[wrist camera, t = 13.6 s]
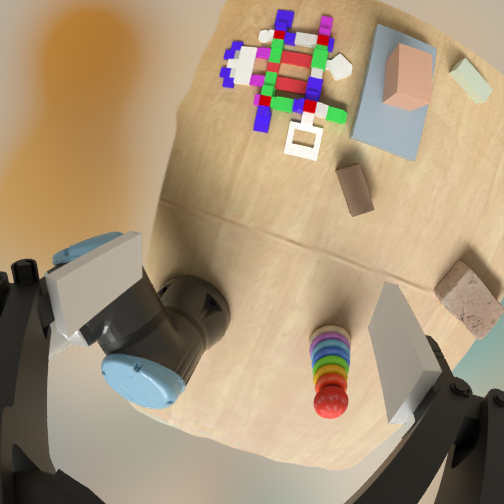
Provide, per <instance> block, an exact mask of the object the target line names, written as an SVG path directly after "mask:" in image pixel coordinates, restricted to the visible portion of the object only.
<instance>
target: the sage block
mask: <svg viewBox="0 0 504 504" xmlns="http://www.w3.org/2000/svg"><path fill="white" fill-rule="evenodd" d="M449 74H450V75H451V76H452V77H453V78H454V79H455V81H456V82H457V83H458V84H459V85H460V86H461V87H462V88H463V89H464V91H465V92H466V93H467V94H468V95H469V96H470V98H471V99H472V100H473V101H474V102H475V104H477V103H482V102H485V101H486V100H487V98H488V97H489V95H490V94H491V92H492V91H493V90H492V88H491V87H490V86H489V85H488V83H487V82H486V81H485V80H484V78H483V77H482V76H481V75H480V74H479V73H478V71H477V70H476V69H475V68H474V67H473V66H472V65H471V64H470V62H469V61H468V60H467V59H466V58H464V59H463V60H461V61H459V62H457V63H456V65H455V66H454V67H453V69H452V70H451V71H450V72H449Z"/></svg>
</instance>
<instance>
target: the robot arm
mask: <svg viewBox="0 0 504 504" xmlns="http://www.w3.org/2000/svg"><path fill="white" fill-rule="evenodd" d="M52 259H53V265H55V267H54V268H52V269H50V270H48V271H47V272H45V274H44V277H43V278H41V279H40V280H39V274H38V269H37V263H36V261H35V260H33V259H22V260H19V261H16V262H15V263H13V264H12V265H11V270H12V274H13V279H14V283H9V281H8V276H7V273H6V272H0V504H105V503H104V502H103V501H102V500H101V499H100V498H99V497H98V496H96V495H95V494H94V493H93V492H92V491H91V490H90V489H89V488H87V487H85V486H84V485H82V484H80V483H79V482H77V481H76V480H74V479H73V478H71V477H70V476H68V475H67V474H65V473H64V472H63V471H61V470H60V469H58V471H57V472H56V471H55V468H54V466H53V464H52V462H51V459H50V455H49V446H48V430H47V376H48V361H49V359H51V358H52V357H54V356H55V355H57V354H58V353H60V352H61V351H63V350H64V349H65V348H67V347H68V346H70V345H79V346H83V347H89V346H90V345H92V344H93V343H95V342H96V341H97V342H98V344H99V345H100V347H101V348H102V350H103V351H104V353H105V354H106V357H105V358H104V359H103V362H102V365H101V369H102V374H103V376H104V378H105V380H106V381H107V383H108V384H109V385H110V386H111V387H112V388H113V389H114V390H115V391H116V392H117V393H118V394H120V395H121V396H123V397H124V398H125V399H127V400H129V401H131V402H133V403H135V404H137V405H140V406H143V407H146V408H151V409H163V408H167V407H169V406H171V405H172V404H174V403H175V401H176V400H177V398H178V397H179V395H180V394H181V393H182V392H183V391H184V390H185V388H186V385H187V383H188V381H189V379H190V377H191V376H192V374H193V372H194V370H195V368H196V366H197V364H198V362H199V360H200V359H201V357H202V355H203V353H204V352H205V351H206V350H207V349H209V348H210V347H212V346H213V345H214V344H216V343H217V342H219V341H220V340H221V339H222V337H223V336H224V334H225V332H226V330H227V328H228V326H229V322H230V312H229V308H228V305H227V303H226V301H225V299H224V297H223V296H222V295H221V293H220V292H219V291H218V290H217V289H216V288H215V287H214V286H212V285H211V284H210V283H208V282H206V281H205V280H203V279H200V278H197V277H193V276H178V277H175V278H172V279H170V280H169V281H168V282H166V283H165V284H164V285H163V286H162V287H161V288H160V290H159V291H158V293H157V292H156V291H155V289H154V287H153V285H152V283H151V281H150V279H149V278H148V276H147V274H146V272H145V270H144V268H143V266H142V233H139V232H134V231H130V232H128V233H125V234H123V233H121V232H109V233H106V234H102V235H99V236H95V237H92V238H90V239H87V240H85V241H81V242H79V243H77V244H74V245H72V246H70V247H69V248H66V249H64V250H61V251H59V252H57V253H56V254H55V255H54V256H53V258H52ZM368 329H369V332H370V336H371V340H372V345H373V349H374V353H375V357H376V362H377V366H378V371H379V375H380V380H381V385H382V390H383V395H384V400H385V406H386V412H387V417H388V423H391V424H406V423H407V421H408V420H409V419H410V418H411V416H412V415H413V414H414V418H415V423H414V424H413V426H412V427H411V428H410V429H409V430H408V431H407V433H406V434H405V435H404V436H403V437H402V440H401V441H400V443H399V444H398V445H397V447H396V448H395V449H394V450H393V452H392V453H391V454H390V455H389V457H388V458H387V459H386V460H385V461H384V462H383V464H382V465H381V466H380V467H379V468H378V469H377V471H376V472H375V473H374V474H373V475H372V476H371V477H370V478H369V479H368V480H367V481H366V482H365V483H364V485H363V486H362V487H361V488H360V489H359V490H358V491H357V492H356V493H355V494H354V495H353V496H352V497H351V498H350V499H349V500H348V501H346V502H345V504H417V503H418V502H419V500H420V499H421V498H422V496H423V495H424V493H425V492H426V490H427V488H428V487H429V485H430V484H431V482H432V480H433V479H434V477H435V475H436V474H437V472H438V470H439V468H440V466H441V465H442V463H443V461H444V459H445V457H446V455H447V453H448V456H447V460H446V464H445V469H444V472H443V476H442V480H441V483H440V487H439V490H438V493H437V497H436V499H435V502H434V504H504V392H503V391H501V390H499V389H491V390H490V391H489V392H488V394H487V395H486V396H485V398H483V397H480V396H476V395H473V394H472V390H471V387H470V386H469V385H468V383H466V382H465V381H464V380H462V379H460V378H458V377H454V376H453V374H452V372H451V370H450V368H449V366H448V364H447V361H446V359H444V355H443V353H442V352H441V350H440V348H439V346H438V344H437V342H436V341H435V340H434V339H433V338H432V337H431V336H427V335H425V334H424V332H423V330H422V328H421V326H420V324H419V323H418V321H417V319H416V317H415V315H414V313H413V311H412V309H411V308H410V306H409V304H408V302H407V300H406V298H405V297H404V295H403V293H402V291H401V290H400V288H399V286H398V285H396V284H391V283H386V282H385V283H384V285H383V288H382V291H381V294H380V297H379V300H378V303H377V305H376V308H375V311H374V314H373V316H372V319H371V321H370V324H369V327H368Z"/></svg>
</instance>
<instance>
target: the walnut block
mask: <svg viewBox="0 0 504 504" xmlns="http://www.w3.org/2000/svg"><path fill="white" fill-rule="evenodd" d="M335 171H336V173H337V176H338V179H339V182H340V185H341V188H342V190H343V193H344V196H345V199H346V202H347V205H348V208H349V212H350V214H351V215H352V217H354V216H357V215H360V214H363V213H366V212H369V211H373V210H374V206H373V203H372V200H371V197H370V193H369V190H368V187H367V184H366V181H365V178H364V175H363V172H362V169H361V166H360V164H357V163H356V164H353V165H350V166H347V167H344V168H341V169H338V170H335Z"/></svg>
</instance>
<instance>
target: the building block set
mask: <svg viewBox="0 0 504 504" xmlns="http://www.w3.org/2000/svg"><path fill="white" fill-rule="evenodd" d="M293 17H294V12H291V11H283V10H278V12H277V17H276V21H275V26H276V27H275V30H271V29H270V31H268V30H262V31H260V34H259V38H258V39H259V41H261V42H262V43H263V44H264V43H267V42H269V41H270V42H272V45H271V48H265V47H261V48H256V47H245V46H243V42H233V43H232V47H231V50H226V51H225V55H224V59H227V60H228V64H227V68H224V67H222V68H221V72H220V77H223V78H224V81H223V87H229V88H233V87H234V83H235V84H244V85H251V86H259V87H262V91H261V95H259V94H255V98H254V103H253V104H254V105H255V106H258V110H257V114H256V119H255V124H254V129H253V130H254V131H260V132H265V133H268V129H269V124H270V119H271V115H272V113H270V111H271V109H275V110H278V111H283V112H288V113H292V112H296V113H301V114H303V115H302V120H301V123H297V122H292V121H290V126H289V130H288V135H287V140H286V145H285V149H284V154H289V155H294V156H298V157H302V158H306V159H310V160H314V161H317V157H318V152H319V147H320V143H321V138H322V133H323V128H319V127H315V126H313V121H314V116H315V117H319V118H323V119H326V120H328V121H332V122H336V123H339V124H345V122H346V117H347V112H344V111H345V110H341V109H338V108H334V107H330V106H329V105H325V104H323V103H320V102H317V101H319V98H320V93H321V88H322V83H323V79H322V76H323V72H325V69H326V70H329V71H330V73H331V74H332V76H333V78H334V80H335V81H337V80H340V79H342V78H345V77H348V76H351V72H352V65H351V64H350V63H349V62H348V61H347V60H346V59H345V58H344V57H343V56H342V55H341V54H339V55H337V56H336V57H335V58H333V59H332V60H328V59H327V56H328V52H332V50H333V45H334V39H332V38H330V33H331V27H332V21H333V18H330V17H326V16H322V19H321V25H320V29H319V34H318V35H313V34H308V33H307V34H306V33H300V32H297V33H296V34H295V33H289V32H287V31H288V28H291V26H292V21H293ZM328 43H329V44H328ZM285 44H287V45H293V46H295V45H298V46H304V47H309V48H314V53H313V56H311V55H305V54H300V53H294V52H288V51H283V49H284V45H285ZM327 49H328V50H327ZM256 58H262V59H269V62H268V67H267V71H266V76H262V75H252V74H253V69H254V65H255V60H256ZM280 63H286V64H292V65H297V66H303V67H308V68H311V69H312V71H311V76H309V78H308V82H304V81H299V80H294V79H289V78H283V77H278V73H279V68H280ZM276 89H277V90H283V91H288V92H294V93H299V94H304V95H305V99H302V98H299V100H296V99H290V98H284V97H279V96H277V97H274V96H275V91H276ZM295 129H299V130H303V131H308V132H312V133H316V138H315V143H314V148H310V147H306V146H301V145H297V144H293V143H292V141H293V136H294V131H295Z"/></svg>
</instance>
